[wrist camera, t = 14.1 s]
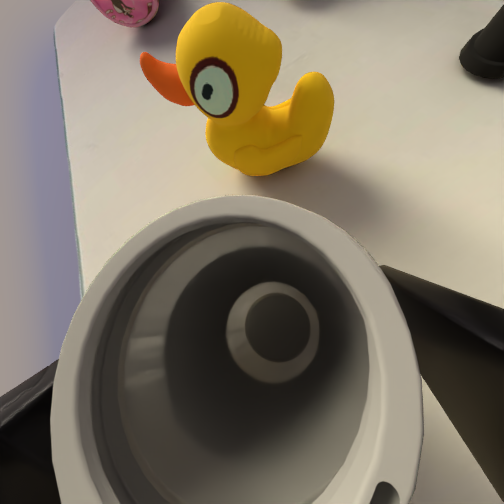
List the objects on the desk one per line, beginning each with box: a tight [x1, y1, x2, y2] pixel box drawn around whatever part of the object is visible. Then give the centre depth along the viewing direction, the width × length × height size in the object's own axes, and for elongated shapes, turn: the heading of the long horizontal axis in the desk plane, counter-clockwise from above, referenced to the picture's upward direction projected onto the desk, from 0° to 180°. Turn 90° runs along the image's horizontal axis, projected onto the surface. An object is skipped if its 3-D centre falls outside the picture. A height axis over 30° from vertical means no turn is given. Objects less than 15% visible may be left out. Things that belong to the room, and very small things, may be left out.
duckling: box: [140, 2, 334, 176], centre depth 14 cm, size 11×5×10 cm, turn 83°
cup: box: [50, 195, 424, 504], centre depth 9 cm, size 7×7×12 cm
